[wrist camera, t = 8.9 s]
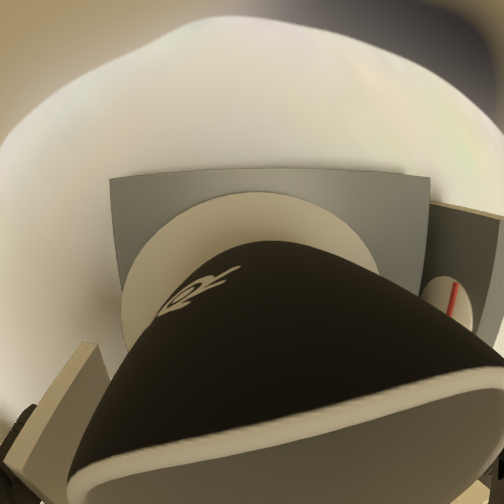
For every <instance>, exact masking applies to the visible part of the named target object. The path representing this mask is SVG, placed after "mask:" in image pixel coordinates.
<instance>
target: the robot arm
mask: <svg viewBox="0 0 504 504" xmlns="http://www.w3.org/2000/svg"><path fill="white" fill-rule="evenodd" d="M109 384H110V379H109V377H108V374H107V371H106V368H105V365H104V362H103V359H102V356H101V353H100V350H99V346H98V344H92V343H82V344H81V345H80V346H79V348H78V349H77V350H76V352H75V353H74V354H73V356H72V357H71V358H70V360H69V361H68V362H67V364H66V365H65V366H64V368H63V369H62V371H61V372H60V373H59V375H58V376H57V378H56V379H55V380H54V382H53V383H52V385H51V386H50V387H49V389H48V390H47V392H46V393H45V395H44V396H43V398H42V399H41V401H40V402H39V404H38V405H35V404H32V405H31V406H29V407H28V408H27V409H25V410H24V411H23V412H22V414H21V415H20V417H19V418H18V420H17V423H15V424H14V426H13V427H12V431H11V430H10V432H9V433H8V435H7V437H6V438H5V440H4V441H3V443H2V445H1V446H0V504H40V502H41V501H43V502H44V503H45V504H69V502H68V499H67V496H66V485H67V478H68V473H69V470H70V467H71V464H72V461H73V458H74V456H75V453H76V450H77V448H78V446H79V443H80V441H81V439H82V436H83V434H84V432H85V430H86V428H87V426H88V424H89V422H90V420H91V418H92V416H93V414H94V412H95V410H96V408H97V406H98V404H99V402H100V400H101V398H102V397H103V395H104V393H105V391H106V389H107V387H108V386H109ZM492 466H493V468H492V470H491V471H490V472H489V475H492V479H491V488H490V495H489V501H488V504H504V448H503V449H502V451H501V452H500V453H499V455H498V456H497V457H496V459H495V460H494V461H493V463H492V464H491V465H490V466H489V467H488V468H487V470H486V471H485V472H484V473H483V474H486V473H487V472H488V471H489V470H490V468H491V467H492Z"/></svg>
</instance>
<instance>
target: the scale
mask: <svg viewBox="0 0 504 504" xmlns="http://www.w3.org/2000/svg"><path fill="white" fill-rule="evenodd" d="M109 182H110V199H111V212H112V223H113V233H114V241H115V250H116V257H117V264H118V271H119V277H120V283H121V289H122V301H121V325H122V331H123V337H124V340H125V343H126V347H127V350H128V352H129V351H130V350H131V348H132V347H133V345H134V344H135V342H136V341H137V339H138V338H139V336H140V335H141V333H142V332H143V331H144V329H145V328H146V326H147V325H148V324H149V322H150V321H151V320H152V318H153V317H154V316H155V314H156V313H157V312H158V311H159V309H160V308H161V307H162V305H163V304H164V303H165V302H166V300H167V299H168V298H169V297H170V296H171V294H172V293H173V292H174V291H175V290H176V289H177V288H178V287H179V286H180V285H181V284H182V283H183V282H184V281H185V280H186V279H187V278H188V277H189V276H190V275H191V274H192V273H193V272H194V271H195V270H196V269H198V268H199V267H200V266H201V265H203V264H204V263H205V262H207V261H208V260H210V259H211V258H213V257H214V256H216V255H218V254H220V253H222V252H224V251H226V250H228V249H230V248H233V247H236V246H239V245H242V244H246V243H251V242H256V241H267V240H271V241H287V242H294V243H299V244H303V245H308V246H311V247H314V248H317V249H320V250H324V251H327V252H329V253H332V254H335V255H337V256H340V257H342V258H344V259H347V260H349V261H351V262H353V263H355V264H357V265H360V266H362V267H364V268H366V269H368V270H370V271H372V272H374V273H376V274H378V275H380V276H382V277H384V278H386V279H388V280H390V281H392V282H393V283H395V284H397V285H399V286H401V287H403V288H404V289H406V290H408V291H410V292H411V293H413V294H415V295H416V296H418V297H420V298H421V299H423V300H425V301H426V302H428V303H429V304H431V305H433V306H434V307H436V308H437V309H439V310H440V311H442V312H444V313H445V314H447V315H448V316H450V317H451V318H453V319H454V320H456V321H457V322H458V323H460V324H461V325H463V326H464V327H466V328H467V329H468V330H470V331H471V332H472V333H474V334H475V335H476V336H478V337H479V338H480V339H481V340H483V341H484V342H485V343H486V344H488V345H489V346H490V347H491V348H493V346H494V343H495V340H496V337H497V334H498V332H499V329H500V325H501V322H502V319H503V316H504V216H500V215H496V214H492V213H488V212H483V211H479V210H475V209H470V208H466V207H461V206H456V205H451V204H446V203H439V202H429V200H430V178H429V177H421V176H412V175H402V174H392V173H380V172H367V171H351V170H331V169H295V168H257V169H221V170H200V171H184V172H171V173H159V174H148V175H138V176H129V177H121V178H112V179H109Z"/></svg>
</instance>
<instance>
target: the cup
mask: <svg viewBox="0 0 504 504" xmlns="http://www.w3.org/2000/svg"><path fill="white" fill-rule="evenodd" d="M489 495H490V490H489V489H488V488H487V487H486V486H484V485H483V484H482V483H481V482H480V481H478V480H476V481H475V482H474V483H473V484H472V485H471V486H470V487H469V488H468V489H467V490H466V491H465V492H463V493H462V494H461V495H460V496H459V497H458V498H456V499H455V500H454V501H453V502H452V503H450V504H487V503H488V501H489Z"/></svg>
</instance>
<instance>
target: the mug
mask: <svg viewBox="0 0 504 504" xmlns="http://www.w3.org/2000/svg"><path fill="white" fill-rule="evenodd" d="M503 448H504V358H503V357H502V356H501V355H500V354H498V353H497V352H496V351H495V350H494V349H493V348H491V347H490V346H489V345H488V344H486V343H485V342H484V341H483V340H481V339H480V338H479V337H478V336H476V335H475V334H474V333H472V332H471V331H470V330H468V329H467V328H466V327H464V326H463V325H461V324H460V323H458V322H457V321H456V320H454V319H453V318H451V317H450V316H448V315H447V314H445V313H444V312H442V311H440V310H439V309H437V308H436V307H434V306H433V305H431V304H429V303H428V302H426V301H425V300H423V299H421V298H420V297H418V296H416V295H415V294H413V293H411V292H410V291H408V290H406V289H404V288H403V287H401V286H399V285H397V284H395V283H393V282H392V281H390V280H388V279H386V278H384V277H382V276H380V275H378V274H376V273H374V272H372V271H370V270H368V269H366V268H364V267H362V266H360V265H357V264H355V263H353V262H351V261H349V260H347V259H344V258H342V257H340V256H337V255H335V254H332V253H329V252H327V251H324V250H320V249H317V248H314V247H311V246H308V245H303V244H299V243H294V242H287V241H271V240H267V241H256V242H251V243H246V244H242V245H239V246H236V247H233V248H230V249H228V250H226V251H224V252H222V253H220V254H218V255H216V256H214V257H213V258H211V259H210V260H208V261H207V262H205V263H204V264H203V265H201V266H200V267H199V268H198V269H196V270H195V271H194V272H193V273H192V274H191V275H190V276H189V277H188V278H187V279H186V280H185V281H184V282H183V283H182V284H181V285H180V286H179V287H178V288H177V289H176V290H175V291H174V292H173V293H172V294H171V296H170V297H169V298H168V299H167V300H166V302H165V303H164V304H163V305H162V307H161V308H160V309H159V311H158V312H157V313H156V314H155V316H154V317H153V318H152V320H151V321H150V322H149V324H148V325H147V326H146V328H145V329H144V331H143V332H142V333H141V335H140V336H139V338H138V339H137V341H136V342H135V344H134V345H133V347H132V348H131V350H130V351H129V353H128V354H127V356H126V357H125V359H124V360H123V362H122V364H121V365H120V367H119V369H118V370H117V372H116V374H115V375H114V377H113V379H112V380H111V382H110V384H109V386H108V387H107V389H106V391H105V393H104V395H103V397H102V398H101V400H100V402H99V404H98V406H97V408H96V410H95V412H94V414H93V416H92V418H91V420H90V422H89V424H88V426H87V428H86V430H85V432H84V434H83V436H82V439H81V441H80V443H79V446H78V448H77V450H76V453H75V456H74V458H73V461H72V464H71V467H70V470H69V473H68V478H67V485H66V496H67V499H68V502H69V504H450V503H452V502H453V501H454V500H455V499H456V498H458V497H459V496H460V495H461V494H462V493H463V492H465V491H466V490H467V489H468V488H469V487H470V486H471V485H472V484H473V483H474V482H475V481H476V480H477V479H478V478H479V477H480V476H481V475H482V474H483V473H484V472H485V471H486V470H487V468H488V467H489V466H490V465H491V464H492V463H493V461H494V460H495V459H496V457H497V456H498V455H499V453H500V452H501V451H502V449H503Z"/></svg>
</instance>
